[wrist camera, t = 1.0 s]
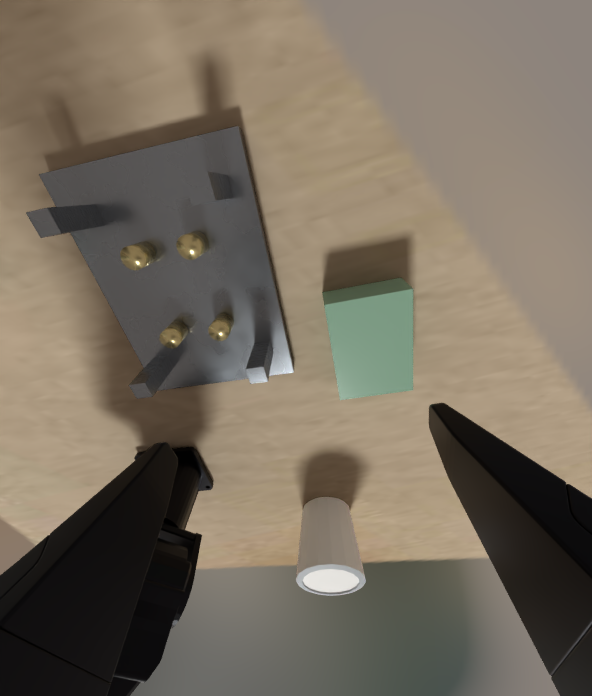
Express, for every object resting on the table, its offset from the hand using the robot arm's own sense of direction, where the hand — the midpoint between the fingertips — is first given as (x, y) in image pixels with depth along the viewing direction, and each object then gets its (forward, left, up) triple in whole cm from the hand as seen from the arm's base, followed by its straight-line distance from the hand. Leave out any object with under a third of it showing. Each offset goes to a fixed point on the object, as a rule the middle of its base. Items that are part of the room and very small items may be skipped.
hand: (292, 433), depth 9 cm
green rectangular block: (-4, -5, -13) cm, 14 cm away
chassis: (+2, +7, -12) cm, 15 cm away
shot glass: (-27, +1, -13) cm, 30 cm away
